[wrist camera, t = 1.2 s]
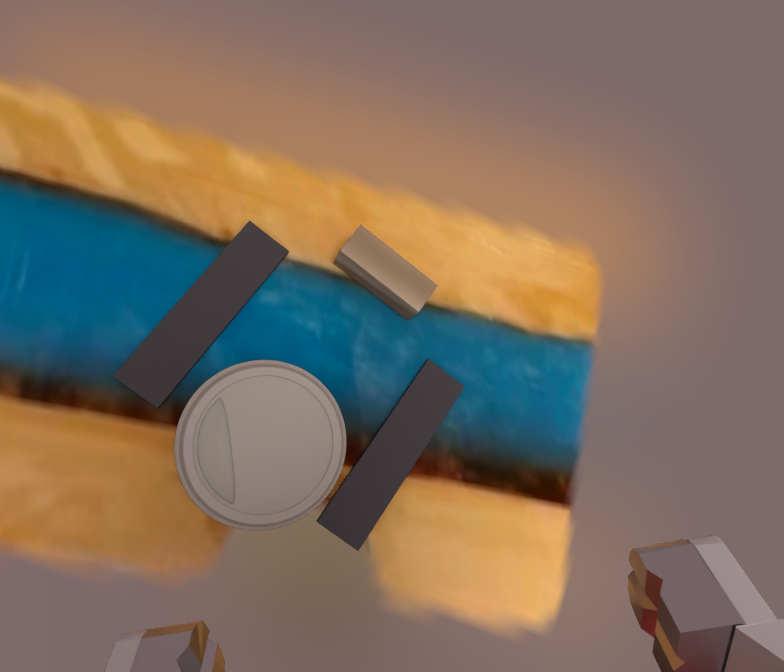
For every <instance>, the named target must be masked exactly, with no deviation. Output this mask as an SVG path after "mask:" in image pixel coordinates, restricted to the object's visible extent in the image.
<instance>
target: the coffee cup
mask: <svg viewBox="0 0 784 672" xmlns="http://www.w3.org/2000/svg"><path fill="white" fill-rule="evenodd" d="M345 453H346V430H345V424H344V420H343V417H342V414H341V411H340V409H339V406H338V404H337V402H336V401H335V399H334V397H333V396H332V394H331V393H330V392H329V390H328V389H327V388H326V387H325V386H324V385H323V384H322V383H321V382H320V381H319V380H318V379H317V378H316V377H314V376H313V375H311V374H310V373H308V372H307V371H305V370H303V369H301V368H299V367H297V366H294V365H292V364H289V363H285V362H280V361H274V360H254V361H248V362H243V363H239V364H236V365H233V366H231V367H228V368H226V369H224V370H222V371H220V372H219V373H217V374H216V375H214V376H213V377H211V378H210V379H209V380H207V381H206V382H205V383H204V384H203V385H202V386H201V387H200V388H199V389H198V390H197V391H196V392H195V393H194V395H193V396H192V397H191V399H190V400H189V402H188V403H187V405H186V407H185V408H184V410H183V412H182V415H181V417H180V420H179V423H178V426H177V430H176V435H175V444H174V454H175V463H176V468H177V472H178V475H179V478H180V480H181V483H182V485H183V487H184V489H185V491H186V492H187V494H188V495H189V497H190V498H191V499H192V501H193V502H194V503H195V504H196V505H197V506H198V507H199V508H200V509H201V510H202V511H203V512H204V513H206V514H207V515H208V516H210V517H211V518H213V519H215V520H216V521H218V522H220V523H223V524H225V525H228V526H230V527H234V528H238V529H244V530H253V531H260V530H270V529H275V528H280V527H283V526H286V525H289V524H291V523H293V522H295V521H297V520H299V519H301V518H303V517H304V516H306V515H307V514H309V513H310V512H311V511H313V510H314V509H315V508H316V507H317V506H319V505H320V504H321V503H322V501H323V500H324V499H325V498H326V497H327V496H328V494H329V493H330V492H331V490H332V489H333V487H334V485H335V484H336V482H337V480H338V478H339V475H340V473H341V470H342V467H343V464H344V459H345Z"/></svg>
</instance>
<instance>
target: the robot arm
mask: <svg viewBox="0 0 784 672" xmlns="http://www.w3.org/2000/svg"><path fill="white" fill-rule="evenodd" d="M629 562H630V564H631V566H632V568H633V571H632V572H631V573H630V574H629V575H628V592H629V597H630V602H631V605H632V608H633V610H634V613H635V616H636V618H637V620H638V622H639V625H640V627H641V628H642V629H643V630H644V631H645V632H647V633H648V634H649V635H651V636H652V637H654V645H653V655H654V657H655V659H656V661H657V663H658V666H659V668H660V670H661V672H784V618H783V619H777V618H776V617H775V615H774V614H773V613H772V611H771V610H770V608H769V607H768V605H767V604H766V603H765V601H764V600H763V598H762V597H761V595H760V594H759V593H758V591H757V590H756V588H755V587H754V585H753V584H752V583H751V581H750V580H749V578H748V577H747V575H746V574H745V573H744V571H743V570H742V568H741V567H740V565H739V564H738V563H737V561H736V560H735V558H734V557H733V556H732V554H731V553H730V551H729V550H728V548H727V547H726V545H725V544H724V543H723V541H722V540H721V539H719V538H718V537H717V536H715V535H708V536H702V537H697V538H692V539H686V540H685V539H682V540H676V541H671V542H665V543H660V544H654V545H649V546H644V547H638V548H633V549H632V550H631V551H630V555H629ZM208 635H209V629H208V628H207V626H206V625H205V623H204V622H203V621H199V622H192V623H186V624H180V625H174V626H167V627H161V628H155V629H146V630H141V631H134V632H128V633H123V634H121V636H120V637H119V638H118V640H117V641H116V643H115V644H114V647H113V649H112V652H111V655H110V657H109V660H108V663H107V665H106V668H105V671H104V672H225V662H224V658H223V654H222V651H221V649H220V647H219V645H218V644H217V643H215V642H213V641H211V640H209V639H208Z"/></svg>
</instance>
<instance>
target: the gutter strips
mask: <svg viewBox="0 0 784 672" xmlns="http://www.w3.org/2000/svg"><path fill="white" fill-rule="evenodd" d="M288 252H289V251H288V250H287V249H286V248H284V247H283V246H282V245H280V244H279V243H278V242H276V241H275V240H274V239H273V238H271V237H270V236H269V235H267V234H266V233H265V232H263V231H262V230H261V229H260V228H258V227H257V226H256V225H254V224H253V223H252V222H251V221H249V222H248V223H247V224H246V225H245V226H244V228H243V229H242V230H241V231H240V232H239V233H238V234H237V235H236V237H235V238H234V239H233V240H232V241H231V242H230V243H229V245H228V246H227V247H226V248H225V249H224V250H223V251H222V252H221V254H220V255H219V256H218V257H217V258H216V259H215V260H214V262H213V263H212V264H211V265H210V266H209V267H208V268H207V269H206V271H205V272H204V273H203V274H202V275H201V276H200V277H199V279H198V280H197V281H196V282H195V283H194V284H193V285H192V286H191V288H190V289H189V290H188V291H187V292H186V293H185V294H184V296H183V297H182V298H181V299H180V300H179V301H178V302H177V303H176V305H175V306H174V307H173V308H172V309H171V310H170V311H169V313H168V314H167V315H166V316H165V317H164V318H163V319H162V320H161V322H160V323H159V324H158V325H157V326H156V327H155V328H154V330H153V331H152V332H151V333H150V334H149V335H148V336H147V337H146V339H145V340H144V341H143V342H142V343H141V344H140V345H139V347H138V348H137V349H136V350H135V351H134V352H133V353H132V354H131V356H130V357H129V358H128V359H127V360H126V361H125V362H124V364H123V365H122V366H121V367H120V368H119V369H118V370H117V371H116V373H115V374H114V375H113V377H114V378H116V379H117V380H118V381H120V382H121V383H123V384H124V385H125V386H127V387H128V388H130V389H131V390H132V391H134V392H135V393H137V394H138V395H139V396H141V397H142V398H144V399H145V400H146V401H148V402H149V403H151V404H152V405H154V406H155V407H156V408H159V407H160V406H161V405H162V404H163V402H164V401H165V400H166V399H167V398H168V396H169V395H170V394H171V393H172V392H173V390H174V389H175V388H176V387H177V386H178V384H179V383H180V382H181V381H182V380H183V378H184V377H185V376H186V375H187V374H188V372H189V371H190V370H191V369H192V368H193V366H194V365H195V364H196V363H197V362H198V360H199V359H200V358H201V357H202V356H203V354H204V353H205V352H206V351H207V350H208V348H209V347H210V346H211V345H212V344H213V342H214V341H215V340H216V339H217V338H218V336H219V335H220V334H221V333H222V332H223V330H224V329H225V328H226V327H227V326H228V325H229V323H230V322H231V321H232V320H233V319H234V317H235V316H236V315H237V314H238V313H239V311H240V310H241V309H242V308H243V307H244V305H245V304H246V303H247V302H248V301H249V299H250V298H251V297H252V296H253V295H254V293H255V292H256V291H257V290H258V289H259V287H260V286H261V285H262V284H263V283H264V281H265V280H266V279H267V278H268V277H269V275H270V274H271V273H272V272H273V271H274V269H275V268H276V267H277V266H278V265H279V263H280V262H281V261H282V260H283V259H284V257H285V256H286V255H287V254H288ZM463 389H464V386H463V385H462V384H460V383H459V382H458V381H457V380H455V379H454V378H453V377H451V376H450V375H449V374H447V373H446V372H445V371H444V370H442V369H441V368H440V367H438V366H437V365H436V364H435V363H433V362H432V361H431V360H429V359H427V360H426V362H425V363H424V365H423V366H422V368H421V369H420V371H419V372H418V373H417V375H416V376H415V378H414V379H413V381H412V382H411V384H410V385H409V387H408V388H407V389H406V391H405V392H404V394H403V395H402V397H401V398H400V400H399V401H398V403H397V404H396V406H395V407H394V408H393V410H392V411H391V413H390V414H389V416H388V417H387V419H386V420H385V422H384V423H383V424H382V426H381V427H380V429H379V430H378V432H377V433H376V435H375V436H374V438H373V439H372V441H371V442H370V443H369V445H368V446H367V448H366V449H365V451H364V452H363V454H362V455H361V457H360V458H359V460H358V461H357V462H356V464H355V465H354V467H353V468H352V470H351V471H350V473H349V474H348V476H347V477H346V478H345V480H344V481H343V483H342V484H341V486H340V487H339V489H338V490H337V492H336V493H335V495H334V496H333V497H332V499H331V500H330V502H329V503H328V505H327V506H326V508H325V509H324V511H323V512H322V514H321V515H320V517H319V518H318V519H317V522H318V523H319V524H321V525H322V526H324V527H325V528H326V529H328V530H329V531H331V532H332V533H334V534H335V535H336V536H338V537H339V538H341V539H342V540H343V541H345V542H346V543H348V544H349V545H350V546H352V547H353V548H355V549H356V550H357V551H358V550H359V549H360V547H361V546H362V544H363V543H364V541H365V540H366V538H367V537H368V535H369V533H370V532H371V530H372V529H373V527H374V526H375V524H376V523H377V521H378V520H379V518H380V516H381V515H382V513H383V512H384V510H385V509H386V507H387V506H388V504H389V503H390V501H391V500H392V498H393V496H394V495H395V493H396V492H397V490H398V489H399V487H400V486H401V484H402V483H403V481H404V480H405V478H406V476H407V475H408V473H409V472H410V470H411V469H412V467H413V466H414V464H415V463H416V461H417V459H418V458H419V456H420V455H421V453H422V452H423V450H424V449H425V447H426V446H427V444H428V443H429V441H430V439H431V438H432V436H433V435H434V433H435V432H436V430H437V429H438V427H439V426H440V424H441V423H442V421H443V419H444V418H445V416H446V415H447V413H448V412H449V410H450V409H451V407H452V406H453V404H454V402H455V401H456V399H457V398H458V396H459V395H460V393H461V392H462V390H463Z"/></svg>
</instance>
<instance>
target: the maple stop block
mask: <svg viewBox="0 0 784 672" xmlns="http://www.w3.org/2000/svg"><path fill="white" fill-rule="evenodd" d="M334 264H335V265H337V266H338V267H339V268H340V269H342V270H343V271H344V272H346V273H347V274H348V275H349V276H351V277H352V278H353V279H355V280H356V281H357V282H358V283H360V284H361V285H362V286H364V287H365V288H366V289H367V290H369V291H370V292H371V293H373V294H374V295H375V296H376V297H378V298H379V299H380V300H382V301H383V302H384V303H385V304H387V305H388V306H389V307H391V308H392V309H393V310H394V311H396V312H397V313H398V314H400V315H401V316H402V317H403V318H405V319H406V320H408V319H409V318H411V317H412V316H414V315H415V314H417V313H418V312H419V311H420V310H421V308H422V307H423V306H424V304H425V303H426V301H427V300H428V299H429V297H430V296H431V294H432V293H433V292H434V290H435V289H436V287H437V286H438V285H437V284H435V283H434V282H433V281H432V280H430V279H429V278H428V277H426V276H425V275H424V274H423V273H421V272H420V271H419V270H418V269H416V268H415V267H414V266H413V265H411V264H410V263H409V262H408V261H406V260H405V259H404V258H402V257H401V256H400V255H399V254H397V253H396V252H395V251H394V250H392V249H391V248H390V247H389V246H387V245H386V244H385V243H384V242H382V241H381V240H380V239H378V238H377V237H376V236H375V235H373V234H372V233H371V232H370V231H368V230H367V229H366V228H365V227H363V226H362V225H360V226H359V227H358V229H357V230H356V231H355V232H354V234H353V235H352V236H351V237H350V239H349V240H348V241H347V242H346V244H345V245H344V246H343V247H342V249H341V250H340V251H339V253H338V255H337V257H336V259H335V261H334Z"/></svg>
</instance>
